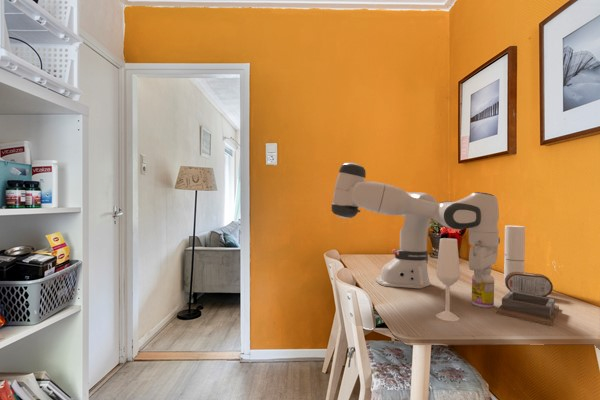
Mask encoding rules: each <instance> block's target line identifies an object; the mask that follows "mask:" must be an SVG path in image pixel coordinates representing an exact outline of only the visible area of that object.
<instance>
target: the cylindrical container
mask: <svg viewBox="0 0 600 400" xmlns="http://www.w3.org/2000/svg"><path fill="white" fill-rule="evenodd" d="M525 241H526V226H524V225H523V226H522V225H509V224H508V225H505V226H504V261H503V262H504V264H503V265H504V266H503V267H504V269H503V283H504V285H505V278H506V276H507V275H508V274H509V273H512V272H524V273H525V252H526V251H525V247H526V245H525V244H526V242H525Z"/></svg>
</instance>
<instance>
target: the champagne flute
mask: <svg viewBox="0 0 600 400" xmlns="http://www.w3.org/2000/svg"><path fill="white" fill-rule="evenodd" d="M458 248H459V247H458V239H457V238H450V237H449V238H448V237H447V238H446V237H443V238H440V239H439V246H438V255H437V262H436V263H437V264H436V271H435V272H436V277H437V279H438V280H439V281H440V282H441V283H442V284H443V285H445V309H444V310H443V311H440V312H438V313H436V314H435V316H436V318H437V319H440V320H442V321H446V322H458V321H460V317H458V316H457V315H456V314H455V313H453V312H452V311H450V309H451V307H450V305H451V304H450V302H451V301H450V300H451V286H453V285H454V284H455V283H457V282H458V281H459V280H460V278H461V272H460V271H461V269H460V258H459V249H458Z"/></svg>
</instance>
